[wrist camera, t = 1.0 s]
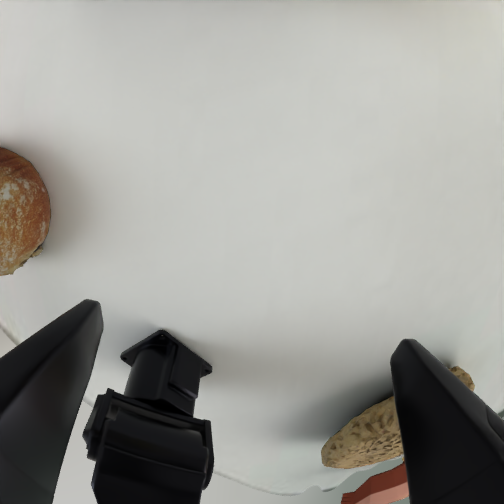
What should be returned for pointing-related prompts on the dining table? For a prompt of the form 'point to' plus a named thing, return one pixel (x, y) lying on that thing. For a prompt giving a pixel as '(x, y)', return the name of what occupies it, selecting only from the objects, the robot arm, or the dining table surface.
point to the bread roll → (21, 212)
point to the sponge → (372, 434)
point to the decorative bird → (381, 488)
